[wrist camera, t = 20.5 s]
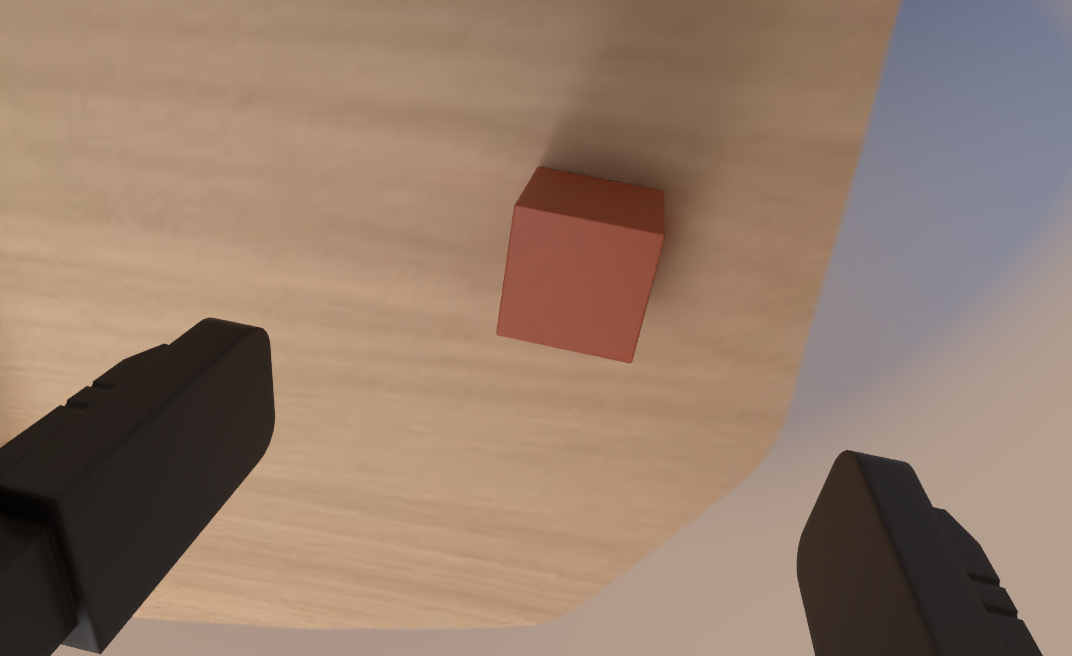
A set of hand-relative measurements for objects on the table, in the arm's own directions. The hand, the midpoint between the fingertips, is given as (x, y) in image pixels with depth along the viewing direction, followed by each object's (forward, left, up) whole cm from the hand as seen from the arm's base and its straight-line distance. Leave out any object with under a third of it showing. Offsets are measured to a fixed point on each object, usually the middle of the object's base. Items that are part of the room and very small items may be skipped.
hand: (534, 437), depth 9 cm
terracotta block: (0, -3, -16) cm, 16 cm away
